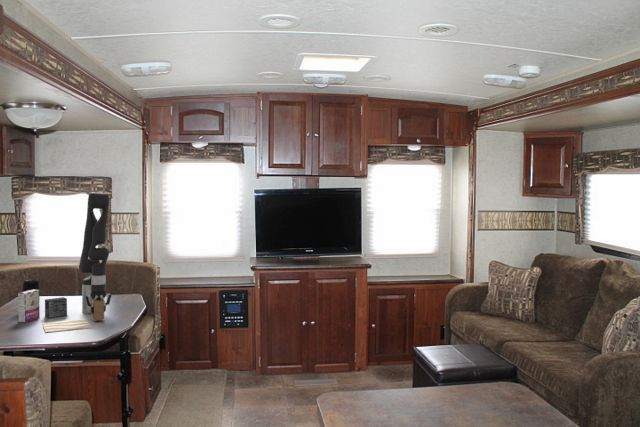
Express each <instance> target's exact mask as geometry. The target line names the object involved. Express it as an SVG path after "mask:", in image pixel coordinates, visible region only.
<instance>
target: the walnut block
mask: <svg viewBox="0 0 640 427" xmlns="http://www.w3.org/2000/svg"><path fill="white" fill-rule="evenodd" d="M104 301H105V299H104V300H94V313H93V314H92V317H91V318H92V319H93V320H94V322H95V321H104V320H105V312H104Z"/></svg>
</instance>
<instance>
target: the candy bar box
mask: <svg viewBox="0 0 640 427" xmlns="http://www.w3.org/2000/svg"><path fill="white" fill-rule="evenodd" d="M17 301H18V302H17V303H18V304H17V306H18V307H17V308H18V309H17V310H18V312H17V313H18V322H19V323H28V322H32V321H33V320H34V321H35V320H37V319H40V289H39V290H34V289H33V290H29V291H25V292H18V293H17Z"/></svg>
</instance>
